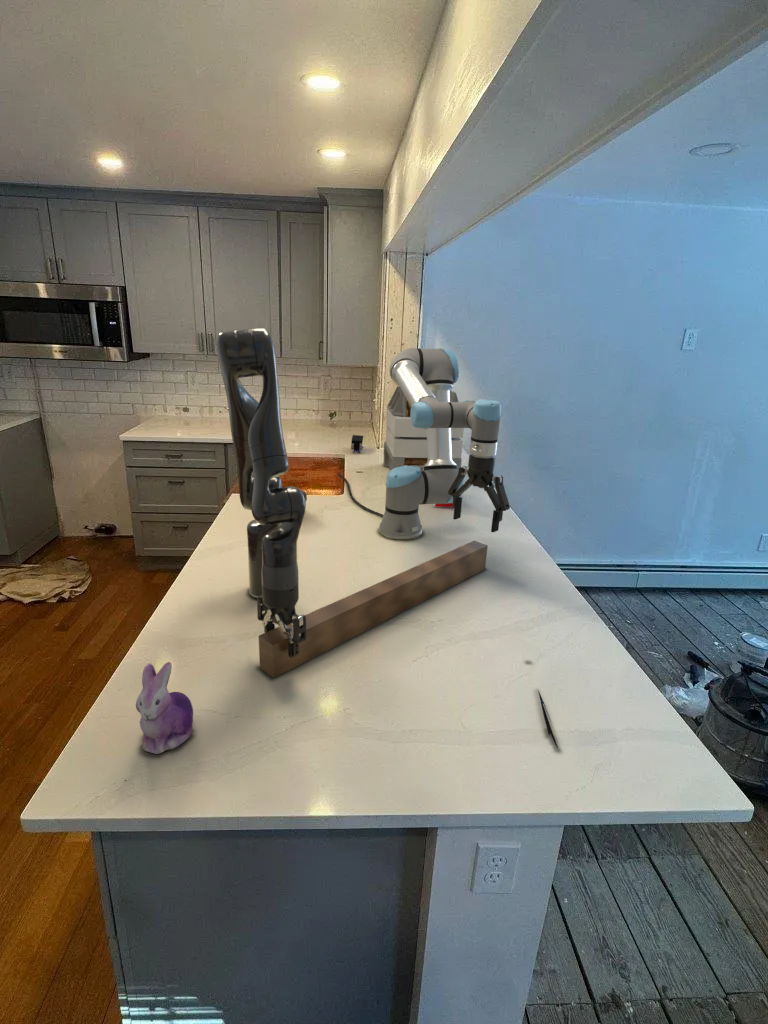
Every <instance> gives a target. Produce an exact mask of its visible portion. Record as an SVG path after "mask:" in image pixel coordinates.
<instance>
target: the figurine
mask: <svg viewBox="0 0 768 1024" xmlns="http://www.w3.org/2000/svg"><path fill="white" fill-rule="evenodd" d="M172 667H173V665H172V662H170V661H168V662H166V663H164V664H163V665H162V667H161V668H160V669H159V671H158V672H156V669H155V667H154V665H153V664H152V663H147V664H146V665H145V666H144V668H143V670H142V675H141V684H142V688H141V690H140V692H139V694H138V696H137V698H136V701H135V709H136V711H137V712H138V713H139V714H140V719H139V727H140V729H141V732H142V734H143V736H144V737H143V738H144V739H143V744H142V748H143V750H144V751H145V752H147V753H148V752H149V753H152V754H155V755H157V754H162V753H163V752H165V751H167V750H173V749H175V748H177V747H179V746H181V745H182V744H183V743H184V742H185V741H187V740H188V739H190V737H191V736H192V732H193V723H194V708H193V704H192V702H191V699H190V698H189V697H188V695H186V694H185V693H184V692H180V691H172V692H171V691H170V692H169V690H168V684H169V681H170V677H171V673H172Z"/></svg>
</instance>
